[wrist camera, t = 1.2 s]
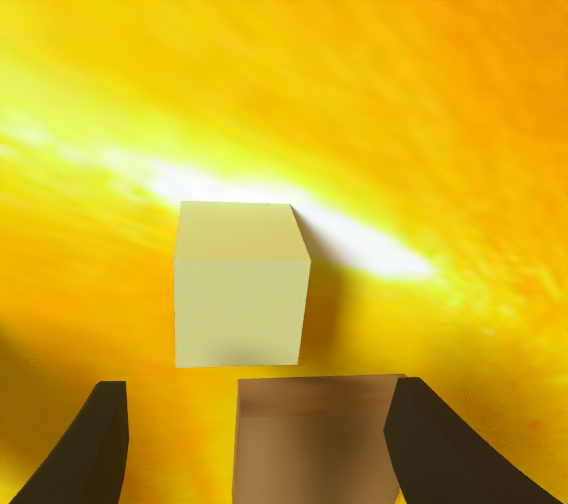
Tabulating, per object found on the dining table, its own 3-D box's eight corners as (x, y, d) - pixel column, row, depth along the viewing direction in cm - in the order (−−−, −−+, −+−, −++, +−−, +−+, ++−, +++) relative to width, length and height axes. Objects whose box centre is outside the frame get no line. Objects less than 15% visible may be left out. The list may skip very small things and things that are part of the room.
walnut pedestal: (231, 486, 29) (233, 535, 27) (237, 373, 25) (241, 418, 22) (373, 477, 31) (388, 522, 28) (401, 368, 27) (422, 410, 24)
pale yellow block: (182, 292, 22) (176, 367, 18) (181, 200, 20) (173, 259, 15) (280, 292, 23) (297, 364, 18) (289, 203, 21) (311, 260, 16)
